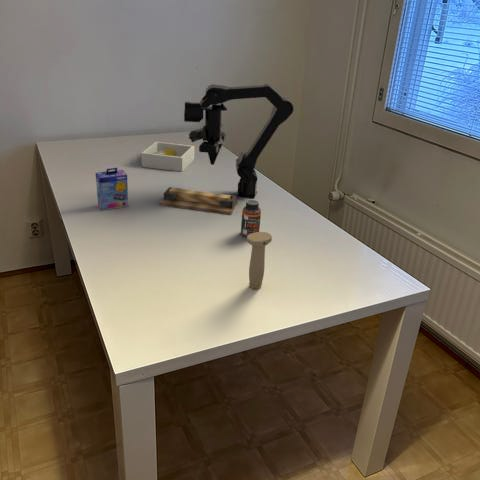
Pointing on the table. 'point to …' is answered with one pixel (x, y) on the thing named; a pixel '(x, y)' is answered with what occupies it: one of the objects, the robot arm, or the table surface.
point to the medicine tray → (175, 163)
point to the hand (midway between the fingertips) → (212, 164)
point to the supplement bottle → (250, 218)
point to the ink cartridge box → (112, 189)
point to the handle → (257, 257)
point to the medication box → (166, 152)
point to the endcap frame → (224, 206)
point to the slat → (199, 196)
